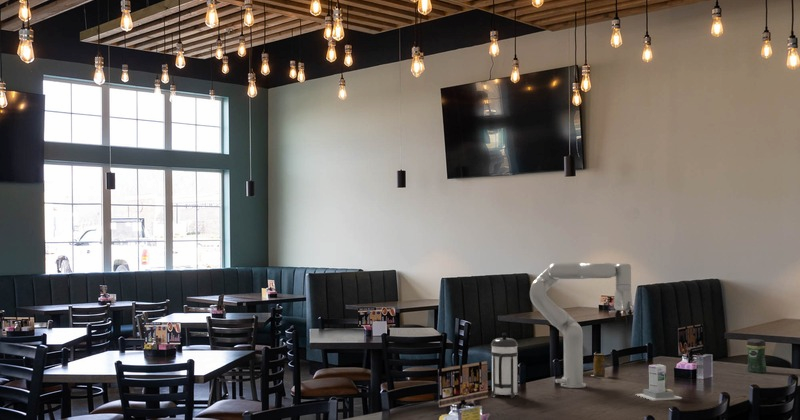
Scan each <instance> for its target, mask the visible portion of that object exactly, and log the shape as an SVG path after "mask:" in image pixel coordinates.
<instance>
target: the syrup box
mask: <svg viewBox="0 0 800 420" xmlns="http://www.w3.org/2000/svg"><path fill="white" fill-rule="evenodd" d="M648 385H649V386H648V389H649V391H653V392H667V365H665V364H661V363H659V364H658V363H657V364H649V365H648Z"/></svg>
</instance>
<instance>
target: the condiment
mask: <svg viewBox="0 0 800 420" xmlns="http://www.w3.org/2000/svg"><path fill="white" fill-rule="evenodd" d="M593 356H594V357H593V374H590V376H591V377H594V378H599V379H600V378H605V379H606V378H609V376H607V375H605V374H606V360H605V354H604V353H594V355H593Z"/></svg>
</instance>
